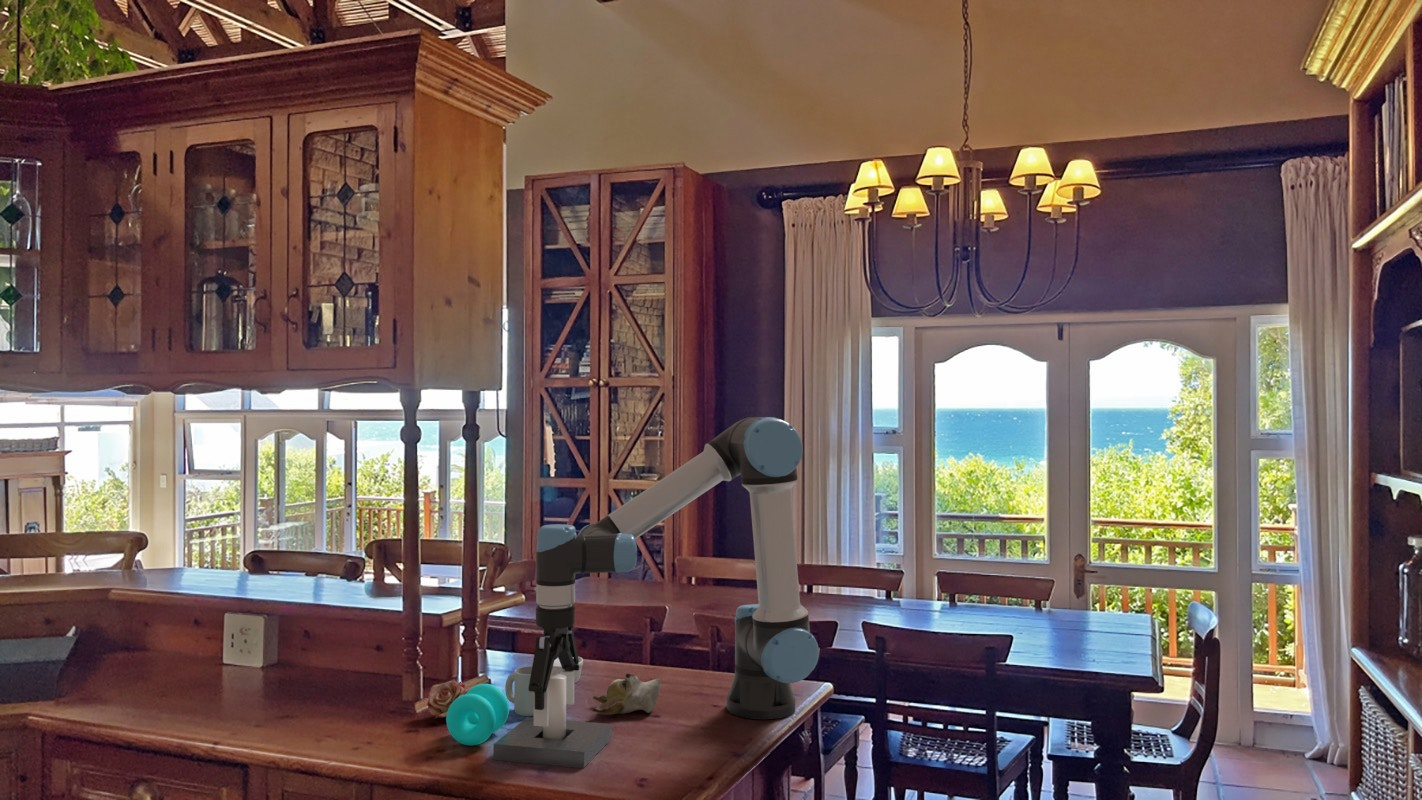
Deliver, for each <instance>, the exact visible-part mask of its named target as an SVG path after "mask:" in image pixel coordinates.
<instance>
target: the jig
mask: <svg viewBox="0 0 1422 800" xmlns="http://www.w3.org/2000/svg"><path fill="white" fill-rule="evenodd" d="M612 727H613V724H611V723H602V722H588V721H580V720H579V721H578V720H577V721H576V720H567V719H566V738H565V739H564V740H556V739H544V738H543V726H534V717H531V716H526V718H525V719H523V720H522V721H521V722H520V723H518V724H517V725H516V726H514V727H513V728H512V729H510V730H509V731H508V732H507V733H506V734H504V735H503V736H502V737H500V738H499V739H498V740H497V741H495V742H494V743H493V754H492V756H493V761H502V762H513V763H523V764H534V765H543V766H544V765H545V766H556V767H568V768H579V769H585V768H586V767H587V766H588V765H589V764H590V763H591V762H592V761H593V759H595V758H596V756H597V755H598V754H599V753H600V752H601V751H602V750H603V749H604V748H605V747H604V746H605V745H606V743H607V744H609V742H610V741H612V739H611V738H612V736H613V735H612V731H613V730H612V729H613V728H612ZM609 740H610V741H609ZM608 741H609V742H608ZM606 746H607V745H606ZM603 747H604V748H603ZM602 748H603V749H602ZM601 749H602V750H601ZM600 750H601V751H600ZM599 751H600V752H599ZM598 752H599V753H598ZM597 753H598V754H597ZM596 754H597V755H596ZM595 755H596V756H595ZM590 761H591V762H590ZM589 762H590V763H589ZM588 763H589V764H588ZM587 764H588V765H587ZM586 765H587V766H586ZM585 766H586V767H585ZM582 767H583V768H582ZM584 767H585V768H584Z"/></svg>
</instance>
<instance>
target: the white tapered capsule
mask: <svg viewBox="0 0 1422 800" xmlns="http://www.w3.org/2000/svg"><path fill="white" fill-rule="evenodd" d="M546 691H549V726H547V727H543V738H544V739H556V740H564V739H565V738H566V720H567V704H566V676H565V675H563V674H551V675H550V679H549V683H548V687H547V690H546Z"/></svg>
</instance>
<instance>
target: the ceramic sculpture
mask: <svg viewBox="0 0 1422 800" xmlns="http://www.w3.org/2000/svg"><path fill="white" fill-rule="evenodd" d="M660 688H661V678H659V677H658V678H656V679H651V680H648V681H641V680H640V679H639V677H638V676H637V675H636V676H635V675H634V674H631V673H626V674H625V676H624V678H621V679H620V678H617V679H614V680H613V681H612V682H611V683H609V685H608V686H607V689H606V694H605V695H601V696H597V695H595V696H593V697H592V699H593V700H595V701H597V702H599V703H601V704H599V705H598V706H597V707H595V708H592V709H591V712H594V713H598V714H601V715H604V716H612V715H615V714H619V715H620V714H621V715H622V714H629V713H632V712H635V711H641V710H642V711H644V712H645V713H648V714H649V713H651V712H653V711H654V708H655V707H656V706H655V705H656V703H657V700H658V698H659V697H660Z"/></svg>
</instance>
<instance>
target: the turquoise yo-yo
mask: <svg viewBox="0 0 1422 800" xmlns="http://www.w3.org/2000/svg"><path fill="white" fill-rule="evenodd" d="M509 713H510V705H509V700H508V698H507V696H506V693H504V691H502V689H500V688H499V687H497V686H496V685H493V684H490V683H480V684H476V685H474V686H472V687H471V688H470V689H469V690H468V691H466V693H464V695H462V696H460V697H458V698H457V699H455V700H454V701H453V702H452V704H451V705H450V707H449V709H448V711H447V716H446V717H445V720H446V721H445V722H446V727H447V729H448V732H449V734H450V735H451V736H452V738H453V739H454V740H455V741H456V742H459V743H460V744H462V745H464V746H478V745H481V744H482V743H484V742H486V741H487V740H488V739H489V738H490V737H491V736H492V734H493V733H495V732H497V731H499V730H500V729H501V728H503V726H504V725H505V724H506V722H507V720H508V717H509Z"/></svg>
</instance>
